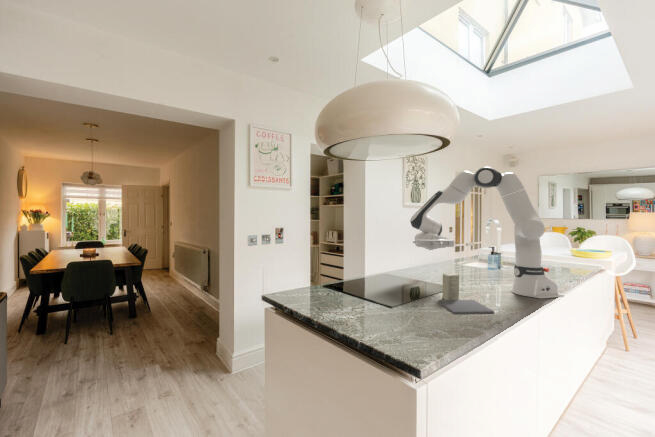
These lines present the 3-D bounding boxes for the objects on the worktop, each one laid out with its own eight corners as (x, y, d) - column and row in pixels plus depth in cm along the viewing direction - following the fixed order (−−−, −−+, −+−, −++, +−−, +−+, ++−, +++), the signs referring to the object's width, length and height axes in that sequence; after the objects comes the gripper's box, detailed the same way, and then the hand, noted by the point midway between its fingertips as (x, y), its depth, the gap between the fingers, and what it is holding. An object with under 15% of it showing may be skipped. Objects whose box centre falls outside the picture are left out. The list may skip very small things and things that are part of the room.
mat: (473, 301, 140) (473, 299, 140) (493, 313, 124) (494, 311, 124) (437, 302, 139) (437, 300, 139) (453, 313, 123) (453, 312, 123)
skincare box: (453, 297, 146) (454, 272, 146) (459, 300, 142) (459, 274, 142) (441, 298, 145) (442, 273, 145) (447, 301, 141) (447, 275, 141)
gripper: (411, 236, 168) (420, 238, 154) (447, 236, 169) (459, 238, 155) (411, 247, 168) (420, 250, 155) (447, 247, 169) (459, 250, 156)
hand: (440, 244), depth 155 cm, fingers closed
